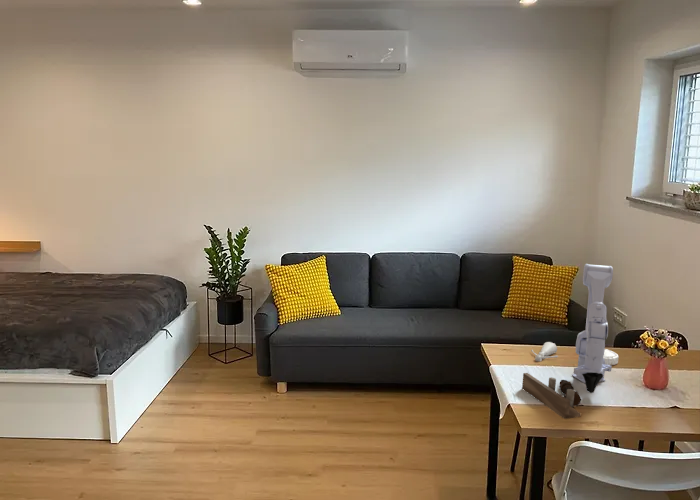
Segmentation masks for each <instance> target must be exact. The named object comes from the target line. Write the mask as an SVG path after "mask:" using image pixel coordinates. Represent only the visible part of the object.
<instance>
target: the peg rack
mask: <svg viewBox="0 0 700 500" xmlns="http://www.w3.org/2000/svg"><path fill="white" fill-rule="evenodd" d="M556 384H557V379H556V378H555V377H549V378H548V385H547V384H545V383H543V382H542V381H540V380H539V379H538V378H536V377H534V376H533V375H531V374H530V373H528V372H524V373H523V374H522V385H521V386H522V387H521V389H522V390H523V389H524V390H525V391H524V390H523V391H524V392H526V393H527V392H528V393H527V394H528V395H530V396H531V395H532V396H531V397H532V398H534V397H535V398H534V399H536V400H537V401H538V400H539V401H538V402H540V403H541V404H543V405H544V406H545V407H547V408H548V409H549V410H551V411H552V412H554V413H555V414H556V415H558V416H559V417H561V418H562V419H564V420H567V419H572V418H580V417H581V413H582V412H579V411H578V410H577V409H576V408H574V406H573V402H574V393H575V391H576V390H572V389H567V396H566V398H565V397H564V396H563V395H562V394H560V393H559V392H557V391H556Z"/></svg>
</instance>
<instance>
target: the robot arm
mask: <svg viewBox="0 0 700 500" xmlns="http://www.w3.org/2000/svg"><path fill="white" fill-rule="evenodd" d="M582 272H583V273H582V283H583V284H582V285H583V286H585V287H587V290H588V299H587V306H586V307H587V309H586V310H587V311H586V321H585V322H586V323H585V330H582V331H581V332H579V333H578V334H577V335H576V336H577V337H576V341H575V353H576V355H578V360H577V367H574V368H573V373H572V374H571V377H574V378H575V379H577V380H579V381H580V382H582V383H584V384H585V386H586V387H585V388H586V391H587V392H588V393H590V394H594V393H595V389H596V388H597V386H598V384H599V382H605V381H606V379H605V372H612V366H613V365H608V364H605V360H604V358H603V356H604V351H605V349H606V344H605V343H606V340H607V338H608V336H609V324H608V320H607V306H606V304H604V298H605V297H604V296H605V289H607V288H609V286H610V285H611V283H612V281H613V276H614V268H613V266H612V265H600V264H589V263H585V264H584V266H583V271H582Z"/></svg>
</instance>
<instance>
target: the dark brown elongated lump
mask: <svg viewBox="0 0 700 500" xmlns="http://www.w3.org/2000/svg"><path fill="white" fill-rule="evenodd" d="M558 388H559V390H560V392H561V393H562V394H563V395H564V396H563V397H565V398H566V396H567V389H572V390H574V389H575V388H574V386H573V384H572V382H571V381H569V380H567V379H561V380H560V381H559V386H558ZM574 391H575V393H574V402H573V407H577V406H578V405H579V404H580V403H581V401H582V397H581V395H580V394H579V391H578V390H574Z"/></svg>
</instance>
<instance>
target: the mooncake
mask: <svg viewBox="0 0 700 500" xmlns="http://www.w3.org/2000/svg"><path fill="white" fill-rule="evenodd" d="M603 358H604V360H605V364H608V365H610V366H614V365H617V364H618V363H619V358H620V357H619V354H618V353H616V352H615V351H612V350H611V349H607V348H605V351H604V356H603Z"/></svg>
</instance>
